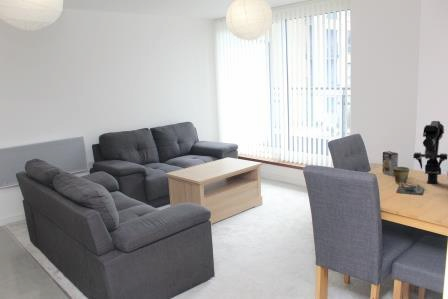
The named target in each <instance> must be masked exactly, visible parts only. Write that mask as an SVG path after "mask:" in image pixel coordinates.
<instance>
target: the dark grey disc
mask: <svg viewBox="0 0 448 299" xmlns="http://www.w3.org/2000/svg"><path fill="white" fill-rule="evenodd" d="M403 186H404V188H407V189H415V188H416V187H417V185H415V184H412V183H408V182H407V183H406V178H403Z"/></svg>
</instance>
